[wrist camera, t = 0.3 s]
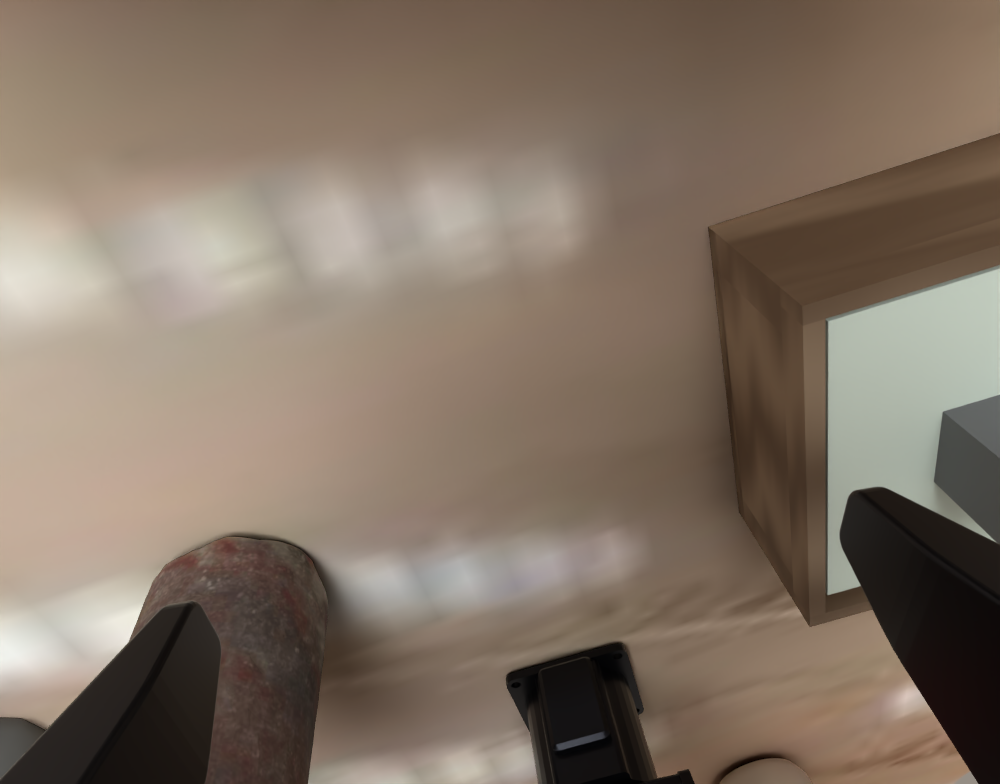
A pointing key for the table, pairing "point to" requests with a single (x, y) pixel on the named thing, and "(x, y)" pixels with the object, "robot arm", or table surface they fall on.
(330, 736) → the table surface
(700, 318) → the table surface
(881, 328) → the cover plate
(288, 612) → the rusty brown cylinder
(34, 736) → the liquor
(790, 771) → the plastic bottle
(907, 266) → the walnut box
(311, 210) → the table surface
